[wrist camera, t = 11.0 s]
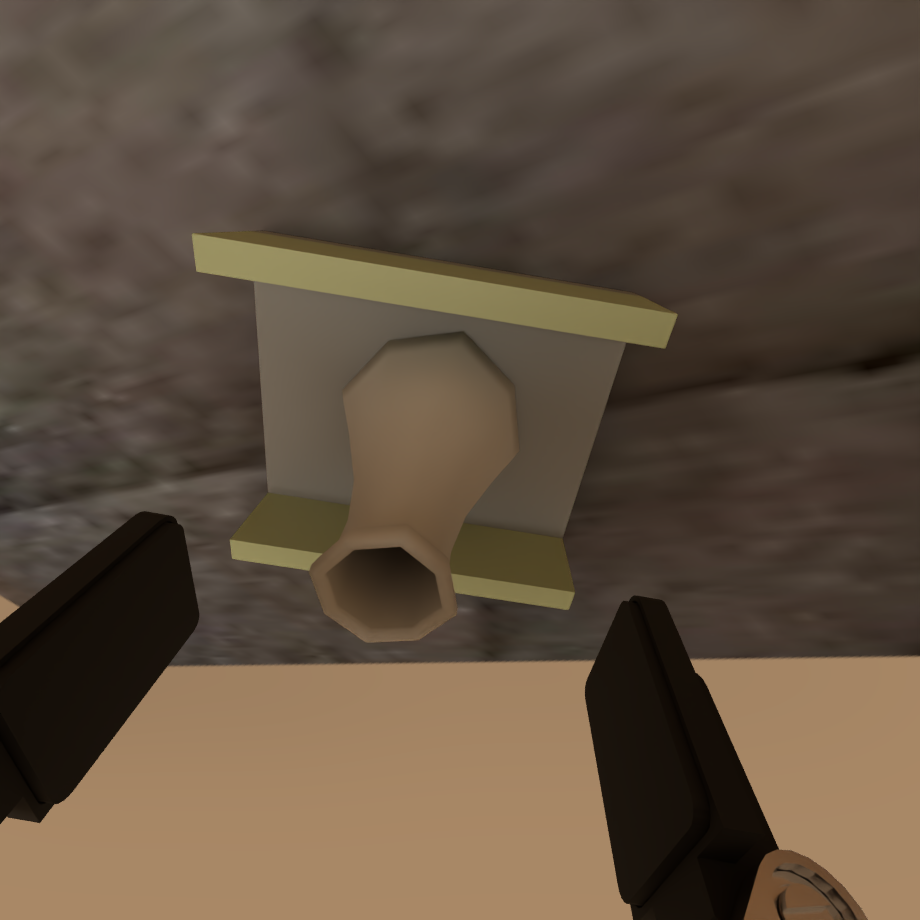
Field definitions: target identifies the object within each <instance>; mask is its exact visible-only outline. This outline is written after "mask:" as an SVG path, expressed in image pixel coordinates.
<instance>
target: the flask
mask: <svg viewBox="0 0 920 920" xmlns="http://www.w3.org/2000/svg"><path fill="white" fill-rule="evenodd" d="M342 394H343V403H344V408H345V414H346V419H347V425H348V431H349V438H350V448H351V457H352V466H353V476H354V484H353V490H352V497H351V503H350V509H349V516H348V521H347V523H346V525H345V528H344V530H343V532H342V534H341V537H340V539H339V540H338V541H337V542H336V543H335V544H334V545H332V546H331V547H330V548H329V549H328V550H327V551H325V552H324V553H323V554H322V555H321V556H320V557H319V558H317V560H316V561H315V562H314V563H313V564H312V565H311V567H310V570H309V574H310V577H311V579H312V582H313V585H314V587H315V590H316V593H317V595H318V598H319V601H320V603H321V606H322V609H323V611H324V614H326V615H327V616H329V617H330V618H331V619H333V620H334V621H336V622H337V623H339V624H340V625H342V626H343V627H345V628H346V629H347V630H349V631H350V632H352V633H353V634H355V635H356V636H358V637H359V638H360V639H362V640H363V641H365V642H366V643H367V642H390V641H412V640H419V639H421V638H422V637H424V636H425V635H427V634H428V633H430V632H431V631H433V630H434V629H436V628H437V627H439V626H440V625H442V624H443V623H445V622H446V621H448V620H450V619H451V618H453V617H454V616H456V614H457V608H458V607H457V602H456V596H455V591H454V585H453V580H452V575H451V569H450V564H449V563H450V556H451V551H452V549H453V546H454V544H455V541H456V539H457V536H458V534H459V532H460V529H461V527H462V524H463V522H464V520H465V517H466V515H467V514H468V513H469V512H470V510H471V509H472V508H473V506H474V505H475V504H476V502H477V501H478V500H479V498H480V497H481V496H482V495H483V493H484V492H485V491H486V489H487V488H488V487H489V485H490V484H491V483H492V482H493V480H494V479H495V478H496V477H497V476H498V475H499V474H500V473H501V471H502V470H503V469H504V468H505V467H506V466H507V465H508V464H509V462H510V461H511V460H512V459H513V458H514V457H515V455H516V454H517V453H518V452H519V438H518V426H517V413H516V400H515V387H514V384H513V383H512V382H511V381H510V380H509V379H508V378H507V377H506V376H505V375H504V374H503V373H502V372H501V371H500V370H499V369H498V368H497V366H496V365H495V364H494V363H493V362H492V361H491V360H490V359H489V358H488V357H487V356H486V355H485V354H484V353H483V352H482V351H481V350H480V349H479V347H478V346H477V345H476V344H475V343H474V342H473V341H472V340H471V339H470V338H469V337H468V336H467V335H466V334H465V333H464V332H455V333H447V334H439V335H431V336H422V337H414V338H406V339H398V340H390V341H388V342H387V343H386V344H385V345H384V346H383V347H382V348H381V349H380V350H379V351H378V352H377V353H376V355H375V356H374V357H373V358H372V359H371V360H370V361H369V362H368V363H367V364H366V365H365V366H364V367H363V368H362V369H361V370H360V372H359V373H358V374H357V375H356V376H355V377H354V378H353V379H352V380H351V381H350V382H349V383H348V384H347V385H346V386H345V387H344V389H343V390H342Z"/></svg>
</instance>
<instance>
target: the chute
mask: <svg viewBox="0 0 920 920" xmlns="http://www.w3.org/2000/svg"><path fill="white" fill-rule="evenodd" d="M192 239H193V247H194V255H195V263H196V271H197V272H203V273H209V274H215V275H221V276H227V277H234V278H240V279H246V280H252V281H254V292H255V307H256V321H257V336H258V351H259V366H260V380H261V395H262V410H263V424H264V439H265V454H266V469H267V483H268V493H267V495H266V496H265V497H264V498H263V500H262V501H261V502H260V503H259V504H258V506H257V507H256V508H255V509H254V511H253V512H252V513H251V514H250V515H249V517H248V518H247V519H246V520H245V522H244V523H243V524H242V525H241V527H240V528H239V529H238V530H237V531H236V533H235V534H234V535H233V536H232V538H231V539H230V545H231V553H232V559H237V560H244V561H250V562H257V563H263V564H270V565H277V566H283V567H290V568H296V569H303V570H310V567H311V565H312V564H313V563H314V562H315V561H316V560H317V558H319V557H320V556H321V555H322V554H323V553H324V552H325V551H327V550H328V549H329V548H330V547H331V546H332V545H334V544H335V543H336V542H337V541H338V540H339V539H340V537H341V534H342V532H343V530H344V528H345V525H346V523H347V521H348V516H349V509H350V503H351V497H352V490H353V484H354V476H353V466H352V457H351V448H350V438H349V431H348V425H347V419H346V414H345V408H344V403H343V394H342V390H343V389H344V387H345V386H346V385H347V384H348V383H349V382H350V381H351V380H352V379H353V378H354V377H355V376H356V375H357V374H358V373H359V372H360V370H361V369H362V368H363V367H364V366H365V365H366V364H367V363H368V362H369V361H370V360H371V359H372V358H373V357H374V356H375V355H376V353H377V352H378V351H379V350H380V349H381V348H382V347H383V346H384V345H385V344H386V343H387V342H388V341H390V340H398V339H406V338H414V337H422V336H431V335H439V334H447V333H455V332H464V333H465V334H466V335H467V336H468V337H469V338H470V339H471V340H472V341H473V342H474V343H475V344H476V345H477V346H478V347H479V349H480V350H481V351H482V352H483V353H484V354H485V355H486V356H487V357H488V358H489V359H490V360H491V361H492V362H493V363H494V364H495V365H496V366H497V368H498V369H499V370H500V371H501V372H502V373H503V374H504V375H505V376H506V377H507V378H508V379H509V380H510V381H511V382H512V383H513V384H514V387H515V400H516V413H517V426H518V438H519V452H518V453H517V454H516V455H515V457H514V458H513V459H512V460H511V461H510V462H509V464H508V465H507V466H506V467H505V468H504V469H503V470H502V471H501V473H500V474H499V475H498V476H497V477H496V478H495V479H494V480H493V482H492V483H491V484H490V485H489V487H488V488H487V489H486V491H485V492H484V493H483V495H482V496H481V497H480V498H479V500H478V501H477V502H476V504H475V505H474V506H473V508H472V509H471V510H470V512H469V513H468V514H467V515H466V517H465V520H464V522H463V524H462V527H461V529H460V532H459V534H458V536H457V539H456V541H455V544H454V546H453V549H452V551H451V556H450V563H449V564H450V569H451V575H452V580H453V585H454V591H455V593H460V594H467V595H473V596H480V597H486V598H493V599H500V600H506V601H513V602H519V603H526V604H532V605H539V606H545V607H552V608H559V609H565V610H569V608H570V605H571V602H572V599H573V597H574V594H575V590H574V586H573V582H572V577H571V573H570V569H569V564H568V560H567V556H566V551H565V547H564V543H563V535H564V532H565V529H566V526H567V523H568V520H569V517H570V514H571V511H572V508H573V505H574V502H575V498H576V495H577V492H578V489H579V486H580V483H581V480H582V477H583V474H584V471H585V468H586V465H587V462H588V459H589V455H590V452H591V449H592V446H593V443H594V440H595V437H596V434H597V431H598V428H599V425H600V422H601V419H602V416H603V412H604V409H605V406H606V403H607V400H608V397H609V394H610V391H611V388H612V385H613V382H614V379H615V376H616V373H617V369H618V366H619V363H620V360H621V357H622V354H623V351H624V348H625V345H626V342H628V343H634V344H640V345H646V346H652V347H658V348H664V349H665V348H666V345H667V342H668V340H669V337H670V334H671V331H672V329H673V326H674V323H675V321H676V318H677V315H678V314H676V313H674V312H672V311H670V310H668V309H666V308H664V307H662V306H660V305H658V304H656V303H654V302H652V301H650V300H648V299H646V298H644V297H641V296H639V295H637V294H635V293H633V292H627V291H621V290H615V289H609V288H603V287H597V286H591V285H585V284H580V283H574V282H568V281H562V280H556V279H550V278H544V277H538V276H532V275H526V274H520V273H514V272H508V271H502V270H496V269H490V268H484V267H478V266H472V265H466V264H460V263H454V262H448V261H442V260H436V259H430V258H424V257H418V256H412V255H406V254H400V253H394V252H388V251H382V250H376V249H370V248H364V247H358V246H352V245H346V244H340V243H334V242H328V241H322V240H316V239H310V238H304V237H298V236H292V235H286V234H280V233H274V232H268V231H242V232H216V233H192Z"/></svg>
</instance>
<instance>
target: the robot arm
mask: <svg viewBox="0 0 920 920" xmlns="http://www.w3.org/2000/svg"><path fill="white" fill-rule="evenodd" d="M198 620H199V610H198V604H197V599H196V593H195V588H194V583H193V577H192V572H191V567H190V561H189V556H188V551H187V545H186V540H185V535H184V530H183V527H182V526H181V525H179V524H178V523H177V521H176V519H175V518H174V517H173V516H169V515H163V514H158V513H152V512H146V511H144V512H140V513H138V514H136V515H135V516H134V517H132V518H131V519H130V520H129V521H127V522H126V523H125V524H124V525H122V526H121V527H120V528H118V529H117V530H116V531H115V532H113V533H112V534H111V535H110V536H108V537H107V538H106V539H105V540H103V541H102V542H101V543H100V544H98V545H97V546H96V547H95V548H93V549H92V550H91V551H90V552H88V553H87V554H86V555H85V556H83V557H82V558H81V559H80V560H78V561H77V562H76V563H75V564H73V565H72V566H71V567H70V568H68V569H67V570H66V571H65V572H63V573H62V574H61V575H60V576H58V577H57V578H56V579H55V580H53V581H52V582H51V583H50V584H48V585H47V586H46V587H45V588H43V589H42V590H41V591H40V592H38V593H37V594H36V595H35V596H33V597H32V598H31V599H30V600H28V601H27V602H26V603H25V604H23V605H22V606H21V607H20V608H18V609H17V610H16V611H15V612H13V613H12V614H11V615H10V616H8V617H7V618H6V619H5V620H3V621H2V622H1V623H0V824H1V823H2V821H3V820H4V819H5V818H6V817H8V818H14V819H20V820H26V821H32V822H37V823H40V822H41V821H42V820H43V818H44V817H45V816H46V814H47V813H48V812H49V810H50V809H51V808H52V806H53V805H54V804H59V803H60V802H62V801H64V800H65V799H66V798H67V797H68V796H69V795H70V794H71V793H72V792H73V790H74V789H75V788H76V786H77V785H78V783H80V781H81V780H82V779H83V777H84V776H85V775H86V773H87V772H88V771H89V769H90V768H91V767H92V765H93V764H94V763H95V761H96V760H97V759H98V757H99V756H100V754H101V753H102V752H103V751H104V749H105V748H106V747H107V745H108V744H109V743H110V741H111V740H112V739H113V737H114V736H115V735H116V733H117V732H118V731H119V729H120V728H121V727H122V726H123V724H124V723H125V721H126V720H127V719H128V717H129V716H130V715H131V713H132V712H133V711H134V710H135V708H136V707H137V705H138V704H139V703H140V702H141V700H142V699H143V698H144V696H145V695H146V694H147V692H148V691H149V690H150V688H151V687H152V686H153V684H154V683H155V682H156V680H157V679H158V678H159V676H160V675H161V674H162V672H163V671H164V670H165V669H166V667H167V666H168V665H169V663H170V662H171V661H172V659H173V658H174V657H175V655H176V654H177V653H178V651H179V650H180V649H181V647H182V646H183V645H184V643H185V642H186V641H187V639H188V638H189V637H190V635H191V634H192V633H193V631H194V630H195V628H196V626H197V623H198ZM585 699H586V705H587V711H588V717H589V722H590V727H591V734H592V739H593V745H594V751H595V757H596V762H597V768H598V774H599V780H600V785H601V791H602V797H603V803H604V808H605V814H606V820H607V825H608V831H609V837H610V843H611V848H612V854H613V859H614V865H615V871H616V877H617V883H618V887H619V892H620V895H621V898H622V899H623V901H624V902H625V903H626V904H630V905H631V910H632V916H633V920H868V919H867V918H866V916H865V914H864V912H863V911H862V909H861V908H860V906H859V905H858V904H857V902H856V901H855V900H854V899H853V897H852V896H851V895H850V894H849V892H848V891H847V890H846V888H845V887H844V886H843V885H842V884H841V883H839V882H838V881H837V880H836V879H835V878H834V877H833V876H832V875H831V874H830V873H829V872H828V871H827V870H826V869H824V868H823V867H821V866H820V865H818V864H817V863H816V862H814V861H813V860H811V859H810V858H808V857H806V856H803V855H801V854H799V853H796V852H794V851H790V850H779V848H778V846H777V844H776V841H775V839H774V837H773V835H772V832H771V830H770V828H769V826H768V824H767V821H766V819H765V817H764V814H763V812H762V810H761V808H760V805H759V803H758V801H757V798H756V796H755V794H754V792H753V790H752V787H751V785H750V783H749V780H748V778H747V776H746V774H745V771H744V769H743V767H742V764H741V762H740V760H739V758H738V756H737V753H736V751H735V749H734V746H733V744H732V742H731V740H730V737H729V735H728V733H727V731H726V728H725V726H724V724H723V722H722V719H721V717H720V715H719V713H718V710H717V708H716V706H715V704H714V701H713V699H712V697H711V694H710V692H709V690H708V688H707V686H706V684H705V682H704V680H703V679H702V678H701V677H700V676H699V675H698V674H697V673H695V670H694V668H693V666H692V663H691V661H690V659H689V657H688V654H687V652H686V650H685V647H684V645H683V643H682V640H681V638H680V636H679V633H678V631H677V629H676V626H675V624H674V622H673V619H672V617H671V615H670V612H669V610H668V608H667V606H666V604H665V602H664V601H662V600H659V599H653V598H647V597H641V596H633V597H631V599H630V600H629V602H628V601H623V602H622V603H621V605H620V607H619V609H618V611H617V613H616V616H615V618H614V620H613V622H612V625H611V627H610V629H609V631H608V634H607V636H606V638H605V640H604V643H603V645H602V647H601V649H600V652H599V654H598V656H597V658H596V661H595V663H594V665H593V667H592V670H591V672H590V674H589V676H588V679H587V681H586V686H585Z"/></svg>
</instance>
